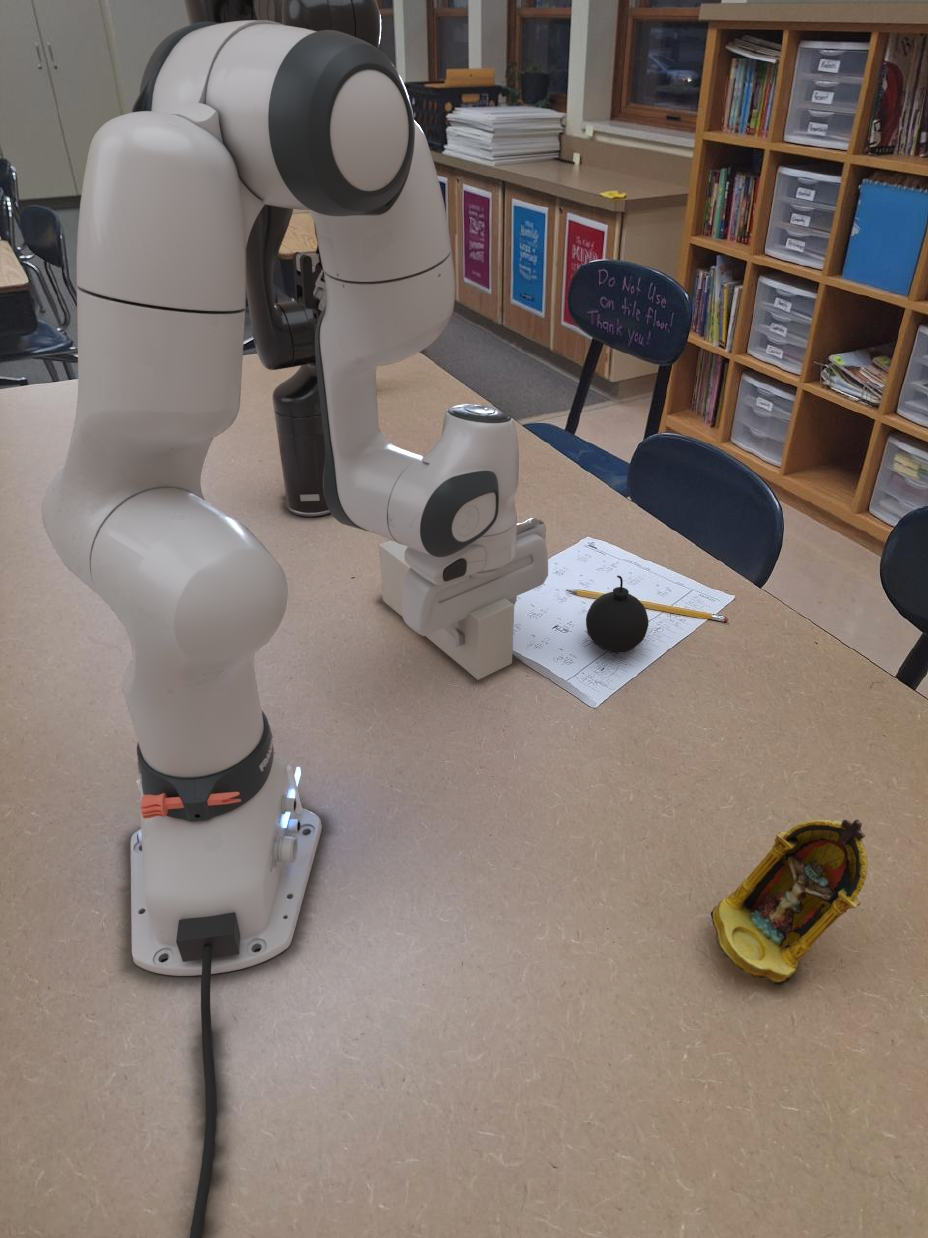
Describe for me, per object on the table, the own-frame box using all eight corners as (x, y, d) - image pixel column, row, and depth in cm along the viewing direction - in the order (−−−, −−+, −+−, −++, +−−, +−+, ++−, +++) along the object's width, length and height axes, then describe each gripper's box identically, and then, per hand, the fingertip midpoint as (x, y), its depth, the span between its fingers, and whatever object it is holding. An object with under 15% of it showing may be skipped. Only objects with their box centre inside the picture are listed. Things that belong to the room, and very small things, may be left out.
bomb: (597, 622, 117) (606, 546, 110) (653, 640, 114) (665, 563, 107) (573, 653, 112) (580, 575, 105) (631, 672, 108) (642, 593, 101)
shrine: (791, 892, 81) (830, 781, 73) (851, 966, 75) (901, 853, 66) (686, 929, 78) (714, 817, 69) (739, 1009, 72) (776, 896, 63)
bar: (512, 663, 110) (514, 604, 105) (478, 680, 107) (478, 620, 102) (415, 587, 125) (412, 532, 119) (382, 600, 122) (378, 544, 116)
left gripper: (529, 503, 108) (524, 595, 116) (391, 555, 98) (397, 651, 106) (562, 523, 104) (556, 617, 112) (423, 579, 94) (426, 677, 102)
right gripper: (378, 182, 106) (385, 316, 116) (273, 195, 100) (290, 336, 109) (412, 191, 102) (417, 329, 111) (304, 205, 95) (319, 351, 104)
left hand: (478, 634), depth 109 cm, fingers closed on bar, 5 cm apart
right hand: (354, 332), depth 110 cm, fingers open, 8 cm apart
